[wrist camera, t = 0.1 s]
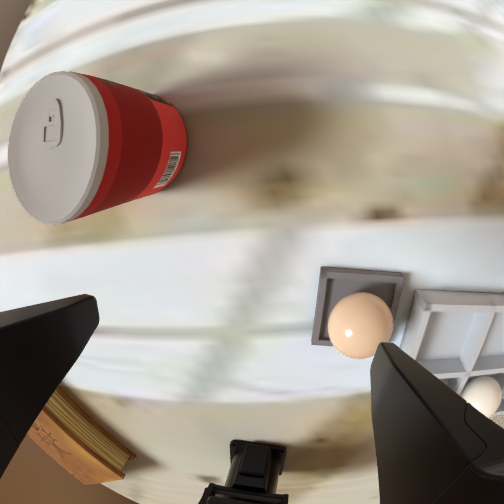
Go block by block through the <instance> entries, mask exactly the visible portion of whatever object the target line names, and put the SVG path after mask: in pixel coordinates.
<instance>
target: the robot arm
mask: <svg viewBox="0 0 504 504" xmlns="http://www.w3.org/2000/svg"><path fill="white" fill-rule="evenodd" d="M98 324H99V312H98V306H97V301H96V298H95V297H94V296H91V295H87V294H82V295H78V296H73V297H68V298H64V299H59V300H55V301H50V302H45V303H41V304H36V305H31V306H27V307H22V308H17V309H13V310H8V311H3V312H0V479H1V477H2V475H3V473H4V471H5V469H6V468H7V466H8V464H9V463H10V461H11V459H12V458H13V456H14V454H15V453H16V451H17V449H18V448H19V446H20V445H19V444H21V442H22V441H23V439H24V437H25V436H26V434H27V433H28V431H29V429H30V428H31V426H32V425H33V423H34V422H35V420H36V419H37V417H38V415H39V414H40V412H41V411H42V409H43V408H44V406H45V405H46V403H47V402H48V400H49V399H50V397H51V396H52V394H53V393H54V392H55V390H56V389H57V387H58V386H59V384H60V383H61V381H62V380H63V379H64V377H65V376H66V374H67V373H68V372H69V370H70V369H71V367H72V366H73V365H74V363H75V362H76V360H77V359H78V357H79V356H80V354H81V353H82V351H83V349H84V348H85V346H86V344H87V343H88V341H89V339H90V338H91V336H92V334H93V333H94V331H95V329H96V328H97V326H98ZM370 376H371V412H372V423H373V430H374V438H375V447H376V457H377V467H378V478H379V491H380V504H504V429H503V428H502V427H500V426H499V425H497V424H496V423H495V422H493V421H492V420H490V419H489V418H488V417H486V416H485V415H484V414H482V413H481V412H480V411H478V410H477V409H476V408H475V407H473V406H472V405H471V404H470V403H467V401H466V400H465V399H463V398H462V397H461V396H460V395H458V394H457V393H456V392H455V391H453V390H452V389H451V388H450V387H448V386H447V385H446V384H445V383H443V382H442V381H441V380H440V379H438V378H437V377H436V376H435V375H433V374H432V373H431V372H429V371H428V370H427V369H426V368H424V367H423V366H422V365H421V364H419V363H418V362H417V361H416V360H414V359H413V358H412V357H410V356H409V355H408V354H407V353H405V352H404V351H403V350H401V349H400V348H399V347H398V346H396V345H395V344H394V343H391V342H380V343H379V344H378V346H377V349H376V352H375V355H374V358H373V361H372V364H371V370H370ZM286 450H287V449H286V448H285V447H280V446H271V445H262V444H255V443H248V442H241V441H235V440H232V441H231V442H230V459H231V467H230V470H229V473H228V477H227V480H226V483H225V486H221V485H216V484H214V483H210V484H209V486H208V488H205V490H204V493H203V496H202V498H201V500H200V502H199V503H198V504H288V497H289V494H284V495H282V494H276V489H277V483H278V476H279V475H281V474H282V470H283V465H284V460H285V456H286Z"/></svg>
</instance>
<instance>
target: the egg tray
mask: <svg viewBox="0 0 504 504" xmlns="http://www.w3.org/2000/svg"><path fill="white" fill-rule="evenodd" d="M400 349H401V350H403V351H404V352H405V353H407V354H408V355H409V356H410V357H412V358H413V359H414V360H416V361H417V362H418V363H419V364H421V365H422V366H423V367H424V368H426V369H427V370H428V371H429V372H431V373H432V374H433V375H435V376H436V377H437V378H438V379H440V380H441V381H442V382H443V383H445V384H446V385H447V386H448V387H450V388H451V389H452V390H453V391H455V392H456V393H457V394H458V395H461V392H462V390H463V389H464V387H465V386H466V385H467V384H468V383H469V382H470V381H471V380H472V379H474V378H476V377H479V376H489V377H492V378H494V379H495V380H496V381H497V382H498V383H499V385H500V387H501V391H502V398H501V403H500V405H499V407H498V409H497V411H496V412H495V413H494V414H493V415H492V416H491V417H493V416H498V415H502V414H504V293H479V292H456V291H436V290H418V289H416V290H415V294H414V298H413V302H412V306H411V310H410V314H409V317H408V321H407V325H406V328H405V332H404V335H403V339H402V342H401V345H400Z"/></svg>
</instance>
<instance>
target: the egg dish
mask: <svg viewBox="0 0 504 504" xmlns="http://www.w3.org/2000/svg"><path fill="white" fill-rule="evenodd" d="M403 280H404V276H403V275H402V274H401V273H396V272H383V271H369V270H356V269H343V268H330V267H321V269H320V278H319V287H318V295H317V303H316V311H315V318H314V325H313V332H312V345H323V346H333V344H332V343H331V341H330V338H329V334H328V320H329V316H330V313H331V311H332V309H333V308H334V306H335V305H336V304H337V303H338V302H339V301H340V300H341V299H343V298H344V297H346V296H348V295H350V294H353V293H359V292H366V293H371V294H373V295H376V296H378V297H379V298H381V299H382V300H383V301H384V302H385V303H386V304H387V306H388V307H389V309H390V311H391V314H392V317H393V323H394V319H395V315H396V311H397V307H398V303H399V298H400V294H401V289H402V285H403Z"/></svg>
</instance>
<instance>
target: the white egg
mask: <svg viewBox="0 0 504 504" xmlns="http://www.w3.org/2000/svg"><path fill="white" fill-rule="evenodd" d="M460 396H461V397H462V398H463V399H465V400H466V401H467V403H470V404H471V405H472V406H473V407H475V408H476V409H477V410H478V411H480V412H481V413H482V414H484V415H485V416H486V417H488V418H490V417H491V416H492V415H493V414H494V413H495V412H496V411H497V409H498V407H499V405H500V403H501V398H502V391H501V387H500V385H499V383H498V382H497V381H496V380H495V379H494V378H492V377H489V376H479V377H476V378H474V379H472V380H471V381H470V382H469V383H468V384H467V385H466V386H465V387H464V389H463V390H462V392H461V395H460Z"/></svg>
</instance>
